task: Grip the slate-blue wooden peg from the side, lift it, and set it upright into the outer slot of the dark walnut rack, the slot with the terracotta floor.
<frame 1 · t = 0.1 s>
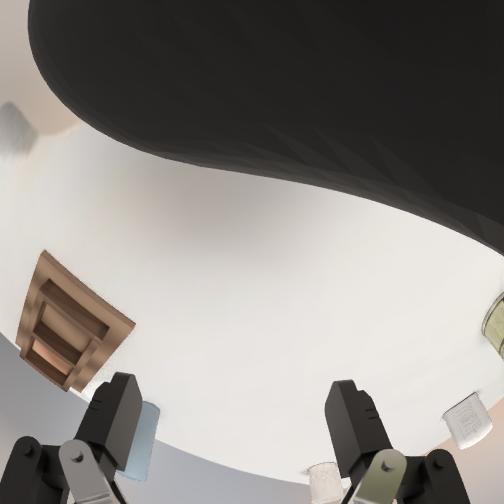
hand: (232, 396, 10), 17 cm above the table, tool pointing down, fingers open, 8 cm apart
slot rack: (63, 334, 31), on the table
coffee can: (500, 312, 33), on the table
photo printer: (459, 404, 46), on the table
slate peg: (146, 408, 38), on the table
white cup: (322, 466, 52), on the table
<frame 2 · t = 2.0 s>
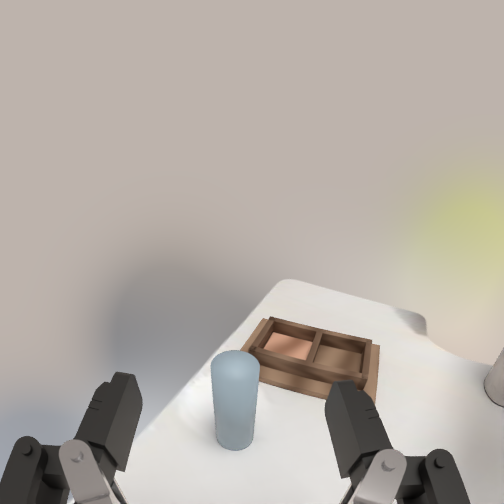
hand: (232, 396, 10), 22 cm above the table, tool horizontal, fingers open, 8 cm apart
slot rack: (310, 362, 42), on the table
slate peg: (234, 436, 29), on the table
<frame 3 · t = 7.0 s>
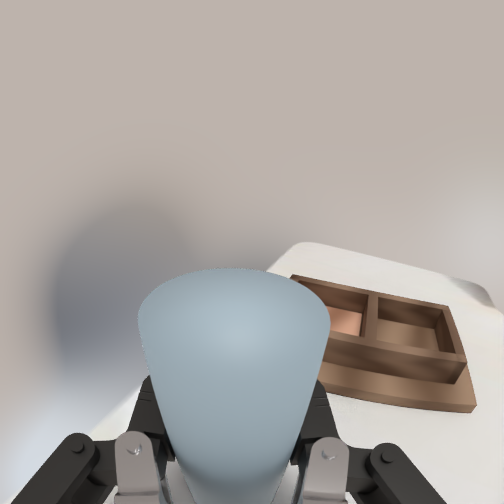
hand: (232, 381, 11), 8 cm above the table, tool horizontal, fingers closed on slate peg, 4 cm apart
slot rack: (362, 344, 24), on the table
slate peg: (233, 493, 11), on the table, touching gripper
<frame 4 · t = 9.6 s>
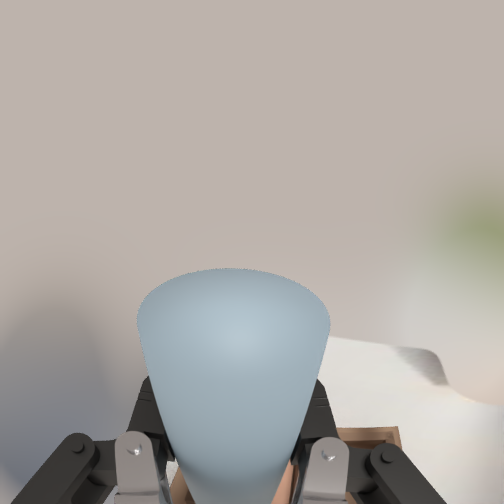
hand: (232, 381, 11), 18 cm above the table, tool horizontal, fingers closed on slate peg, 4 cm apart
slot rack: (296, 484, 19), on the table
slate peg: (232, 493, 11), point 10 cm above the table, touching gripper
when the fingers open (11 cm above the table, at t = 12.2 s): slate peg drops 2 cm, resting on slot rack.
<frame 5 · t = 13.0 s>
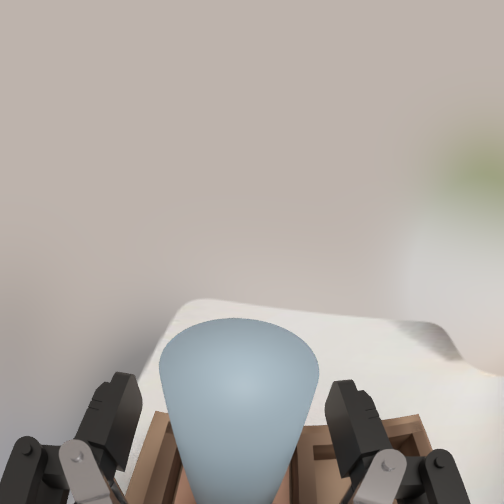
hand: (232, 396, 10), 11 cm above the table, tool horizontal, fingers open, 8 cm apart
slate peg: (233, 502, 12), point 1 cm above the table, touching slot rack
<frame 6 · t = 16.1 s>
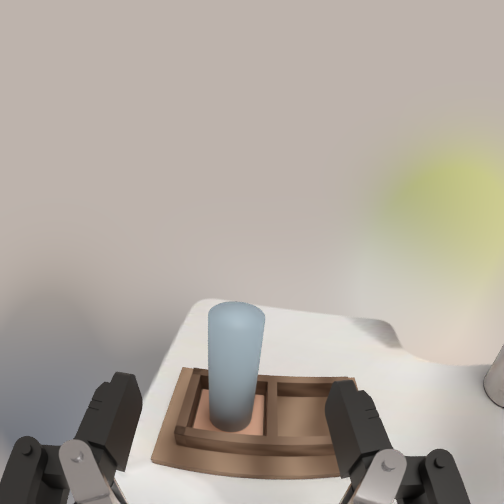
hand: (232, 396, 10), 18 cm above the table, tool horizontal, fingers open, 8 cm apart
slot rack: (268, 425, 26), on the table
slate peg: (230, 416, 26), point 1 cm above the table, touching slot rack
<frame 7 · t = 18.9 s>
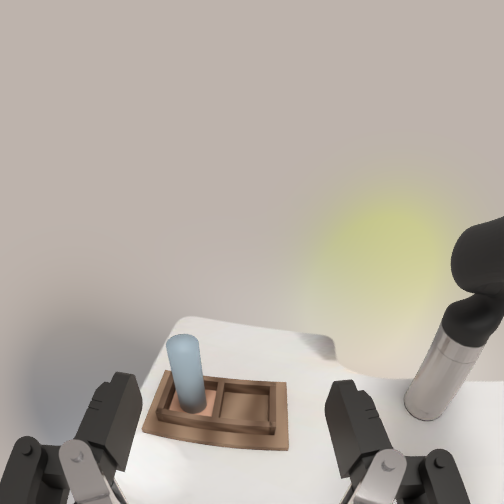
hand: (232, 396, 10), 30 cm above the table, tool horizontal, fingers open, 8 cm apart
slot rack: (219, 411, 40), on the table
slate peg: (193, 403, 40), point 1 cm above the table, touching slot rack
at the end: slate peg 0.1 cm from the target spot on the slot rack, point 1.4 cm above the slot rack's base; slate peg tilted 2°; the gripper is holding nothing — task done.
